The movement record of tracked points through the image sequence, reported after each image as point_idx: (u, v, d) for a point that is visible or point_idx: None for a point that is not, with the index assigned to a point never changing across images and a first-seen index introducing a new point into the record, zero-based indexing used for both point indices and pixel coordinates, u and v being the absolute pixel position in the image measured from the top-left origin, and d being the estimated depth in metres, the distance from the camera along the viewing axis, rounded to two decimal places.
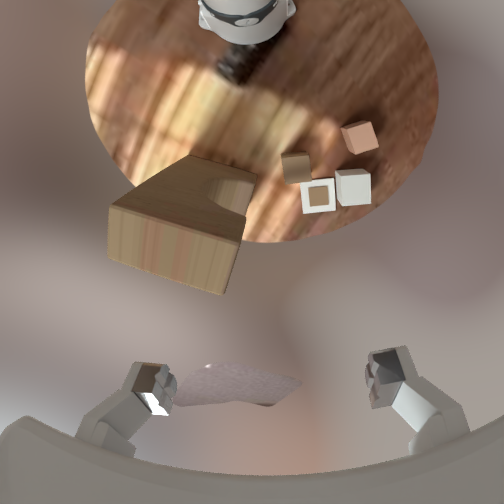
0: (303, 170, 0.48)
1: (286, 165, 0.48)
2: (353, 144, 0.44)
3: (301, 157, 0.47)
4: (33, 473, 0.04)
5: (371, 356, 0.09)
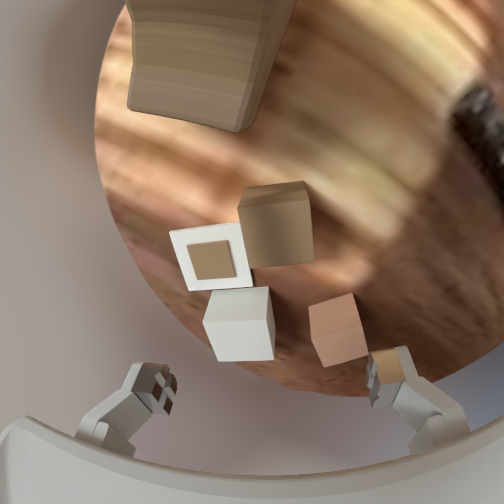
0: (275, 250, 0.20)
1: (289, 211, 0.19)
2: (331, 336, 0.24)
3: (309, 246, 0.20)
4: (33, 473, 0.04)
5: (371, 356, 0.09)
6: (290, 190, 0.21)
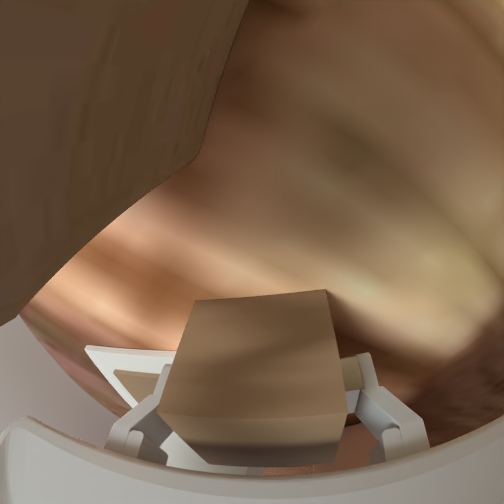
0: (256, 458, 0.08)
1: (291, 428, 0.06)
2: None
3: (328, 453, 0.07)
4: (33, 473, 0.04)
5: None
6: (296, 339, 0.08)
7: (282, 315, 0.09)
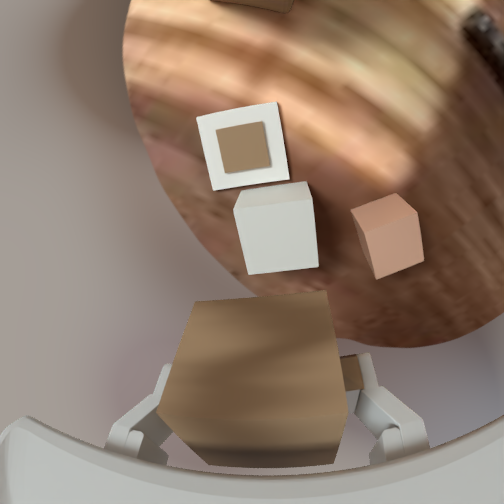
0: (257, 459, 0.08)
1: (291, 429, 0.06)
2: (386, 227, 0.20)
3: (328, 454, 0.07)
4: (33, 473, 0.04)
5: None
6: (296, 340, 0.08)
7: (282, 316, 0.09)
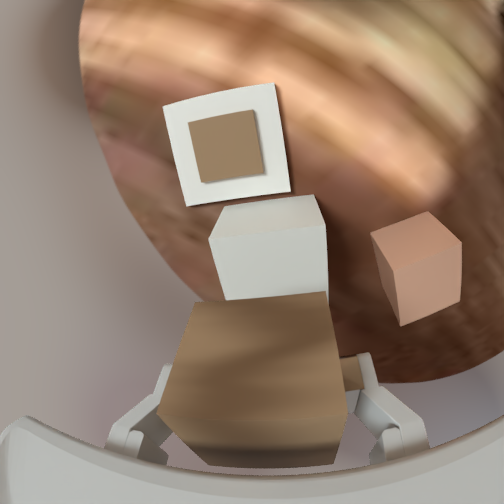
0: (256, 459, 0.08)
1: (291, 429, 0.06)
2: (422, 263, 0.14)
3: (328, 455, 0.07)
4: (33, 473, 0.04)
5: None
6: (296, 341, 0.08)
7: (282, 317, 0.09)
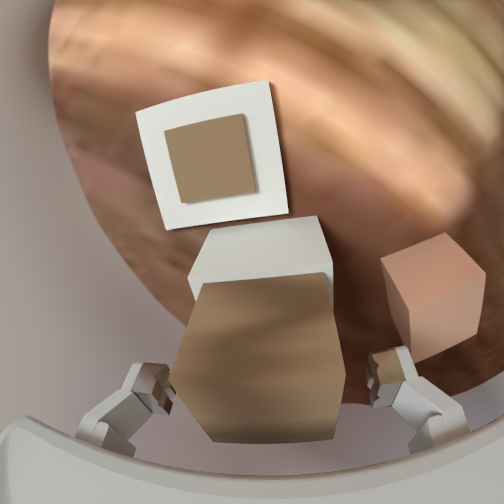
0: (260, 432, 0.09)
1: (294, 393, 0.07)
2: (441, 299, 0.11)
3: (328, 427, 0.08)
4: (33, 473, 0.04)
5: (371, 356, 0.09)
6: (297, 314, 0.09)
7: (284, 293, 0.10)
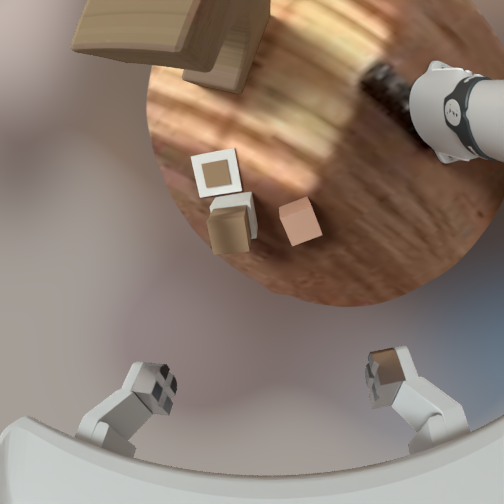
0: (227, 244, 0.37)
1: (233, 223, 0.36)
2: (292, 215, 0.40)
3: (245, 242, 0.37)
4: (33, 473, 0.04)
5: (371, 356, 0.09)
6: (237, 211, 0.38)
7: (234, 208, 0.39)
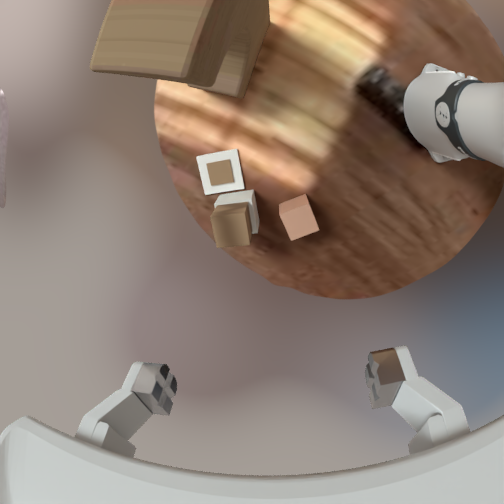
0: (229, 238, 0.40)
1: (235, 219, 0.39)
2: (291, 211, 0.43)
3: (246, 236, 0.40)
4: (33, 473, 0.04)
5: (371, 356, 0.09)
6: (238, 207, 0.41)
7: (236, 205, 0.42)
